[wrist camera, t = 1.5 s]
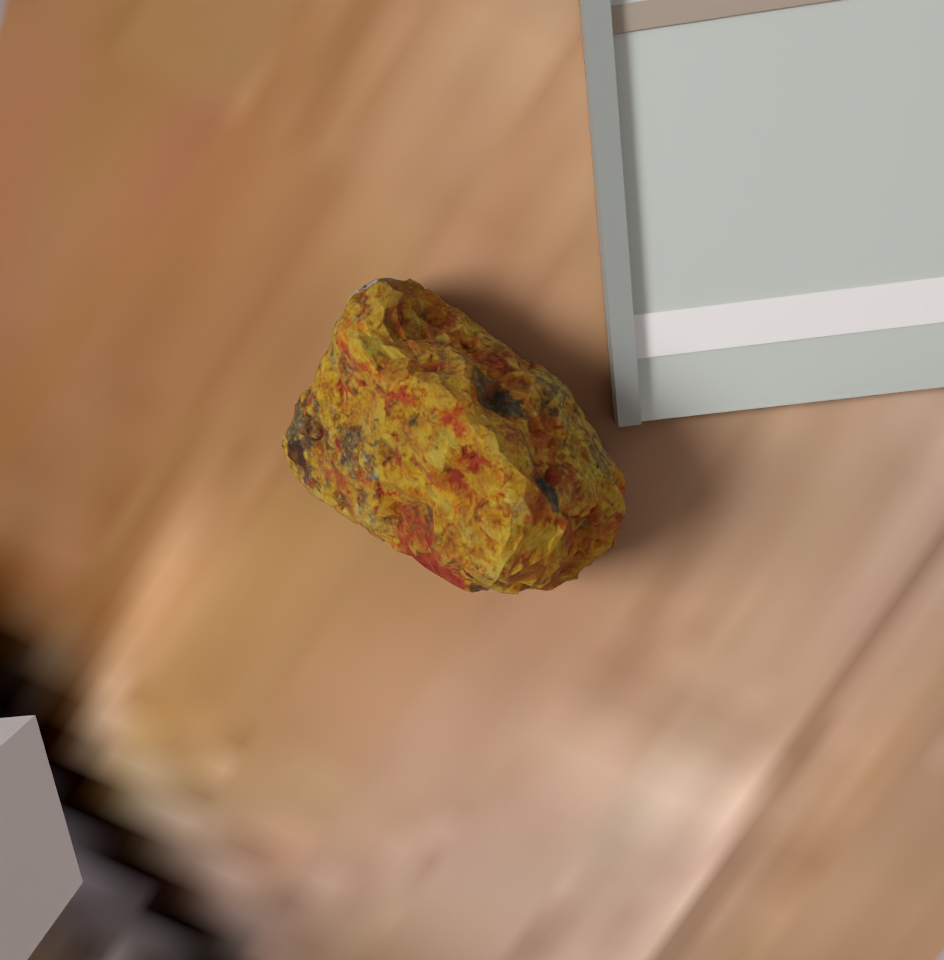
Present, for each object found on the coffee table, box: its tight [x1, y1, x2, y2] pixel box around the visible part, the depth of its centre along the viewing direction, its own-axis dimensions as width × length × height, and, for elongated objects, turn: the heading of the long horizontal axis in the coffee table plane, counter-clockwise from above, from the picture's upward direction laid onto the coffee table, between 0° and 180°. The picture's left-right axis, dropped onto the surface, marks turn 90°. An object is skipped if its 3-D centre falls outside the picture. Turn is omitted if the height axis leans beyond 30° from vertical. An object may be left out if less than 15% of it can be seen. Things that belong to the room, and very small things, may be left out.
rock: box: [282, 278, 627, 594], centre depth 26 cm, size 11×8×10 cm
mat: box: [580, 0, 944, 427], centre depth 25 cm, size 14×18×1 cm
